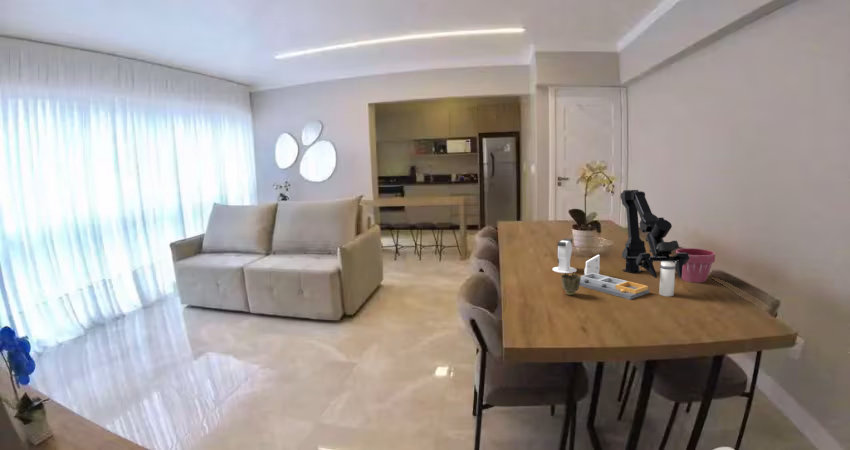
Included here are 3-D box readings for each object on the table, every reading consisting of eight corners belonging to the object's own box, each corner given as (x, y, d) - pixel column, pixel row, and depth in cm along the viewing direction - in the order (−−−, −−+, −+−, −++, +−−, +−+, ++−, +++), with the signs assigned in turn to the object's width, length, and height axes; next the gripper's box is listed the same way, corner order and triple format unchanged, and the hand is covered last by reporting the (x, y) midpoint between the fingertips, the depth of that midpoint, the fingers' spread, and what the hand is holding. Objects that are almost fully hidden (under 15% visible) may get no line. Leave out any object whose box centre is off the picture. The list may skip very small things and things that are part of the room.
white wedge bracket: (609, 270, 191) (599, 255, 190) (589, 281, 192) (580, 266, 192) (606, 268, 194) (597, 253, 194) (587, 279, 196) (578, 264, 195)
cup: (580, 292, 170) (580, 273, 169) (580, 298, 163) (581, 278, 162) (561, 291, 173) (561, 272, 171) (560, 296, 166) (561, 277, 165)
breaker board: (593, 278, 188) (593, 272, 188) (649, 292, 166) (649, 285, 166) (574, 284, 181) (574, 277, 181) (630, 299, 159) (630, 292, 159)
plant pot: (677, 283, 177) (679, 254, 175) (671, 274, 190) (673, 247, 188) (717, 285, 171) (719, 256, 169) (708, 276, 184) (710, 248, 182)
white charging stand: (557, 265, 213) (557, 237, 210) (579, 268, 206) (580, 239, 204) (549, 271, 203) (549, 241, 201) (572, 274, 196) (573, 243, 194)
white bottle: (663, 291, 167) (664, 260, 165) (676, 294, 163) (678, 262, 161) (656, 294, 165) (658, 262, 163) (669, 297, 160) (671, 265, 158)
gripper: (639, 234, 165) (650, 267, 156) (688, 233, 163) (702, 266, 154) (631, 248, 174) (641, 281, 165) (677, 248, 172) (690, 281, 163)
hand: (668, 277), depth 162 cm, fingers open, 9 cm apart
